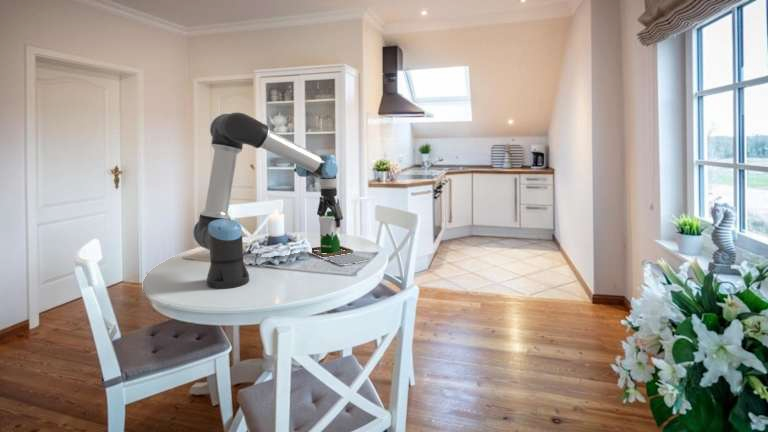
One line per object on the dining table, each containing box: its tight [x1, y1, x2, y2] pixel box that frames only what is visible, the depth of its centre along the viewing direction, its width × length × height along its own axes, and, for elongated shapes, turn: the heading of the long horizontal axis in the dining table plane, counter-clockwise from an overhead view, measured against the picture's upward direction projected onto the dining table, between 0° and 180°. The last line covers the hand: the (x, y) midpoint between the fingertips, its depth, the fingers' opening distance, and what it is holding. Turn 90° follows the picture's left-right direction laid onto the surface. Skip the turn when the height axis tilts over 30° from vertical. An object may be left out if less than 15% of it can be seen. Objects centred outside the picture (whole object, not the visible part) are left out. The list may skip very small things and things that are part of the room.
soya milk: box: [318, 210, 341, 254], centre depth 211 cm, size 9×9×20 cm
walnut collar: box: [311, 245, 354, 257], centre depth 212 cm, size 16×16×2 cm
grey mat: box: [327, 253, 370, 265], centre depth 198 cm, size 14×14×1 cm
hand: (330, 231), depth 211 cm, fingers open, 13 cm apart
